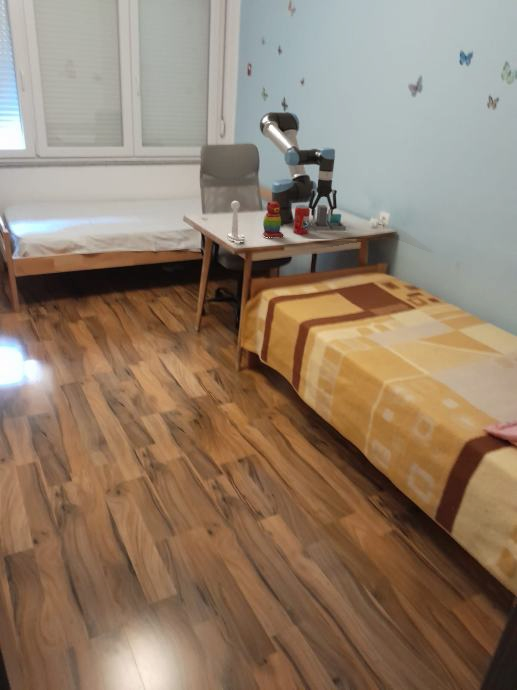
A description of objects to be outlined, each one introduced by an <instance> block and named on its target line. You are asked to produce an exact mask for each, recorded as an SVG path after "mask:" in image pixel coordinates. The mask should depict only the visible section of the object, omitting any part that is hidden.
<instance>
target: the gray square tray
mask: <svg viewBox="0 0 517 690" xmlns="http://www.w3.org/2000/svg"><path fill="white" fill-rule="evenodd" d="M309 225H310V226H311V227H312V228H313V229H314V230H315V231H316V233H348V230H331V229H330V226H329V225H328V224H327V223H326V226H317V225H316V221H315V222H313V221H312V222H311V223H309Z"/></svg>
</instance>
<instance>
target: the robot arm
mask: <svg viewBox="0 0 517 690" xmlns="http://www.w3.org/2000/svg"><path fill="white" fill-rule="evenodd" d="M259 129H260V132H261V133H262V135H263V136H264V137H265V138H267V139H269V140H270V141H271V142H272V143H273V144H274V146H275V147H276V148H277V149H278V150H279V151H280V152H281V153H282V154H283V155H284V162H285V164H286V165H287V166H288V169H289V174H290V177H291V179H290V178H289V179H288V178H286V179H283V178H281V179H278V180H275V181H274V182H273V183H272V187H271V202H276V201H278V203H279V206H280V211H279V212H278V213H279V214H280V218H281V226H284V225H290V224H294V214H293V209H292V207H293V206H292V205H293V204H298V203H299V204H301V203H302V204H303V203H308V205H307V206H308V207H309V210H310V211H311V212H310V213H311V216H312V218H311V219H312V222H316V216H317V210H316V209H317V208H316V207H318V205H319V204H318V203H319V202H320V199H322V198H323V197H325V198H326V200H327V203H328V206H329V208H328V209H327V214H328V220H327V221H328V222H330V217H331V216H332V214H334V213H333V211H334V210H335V209H337V208H338V207H337V192H338V190H336V189H333V188H332V187H333V180H332V179H333V177H334V167H335V159H336V156H335V155H336V150H335V148H333V147H322V148H321V149H318V148H310V149H300V147H299V144H298V143H299V142H298V140H297V136H298V132H299V131H300V120H299V117H298V116H297V114H296V113H293V112H289V111H286V112H278V111H277V112H274V111H272V112H267V113H265V114H264V115H263V116H262V118H260V121H259ZM305 165H306V166H308V165H309V166H310V165H312V166H313V165H314V166H315V165H317V166H318V168H319V169H318V179H317V183H316V182H315V181H314V180H311V177H310V175H309V174H307V173H306V170H305ZM330 194H332V200H331V195H330Z"/></svg>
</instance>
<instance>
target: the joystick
mask: <svg viewBox="0 0 517 690" xmlns="http://www.w3.org/2000/svg"><path fill="white" fill-rule="evenodd" d="M230 207H231V209H232V224H231V232H230V233H227V238H228V237H229V238H231V239H233V240H236V241H244V242H245V235H244V234H239V224H238V222H239V218H238V217H239V215H238V211H239V209H240V207H241V203H240V201H238V200H233V201H232V202H231V203H230Z"/></svg>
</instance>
